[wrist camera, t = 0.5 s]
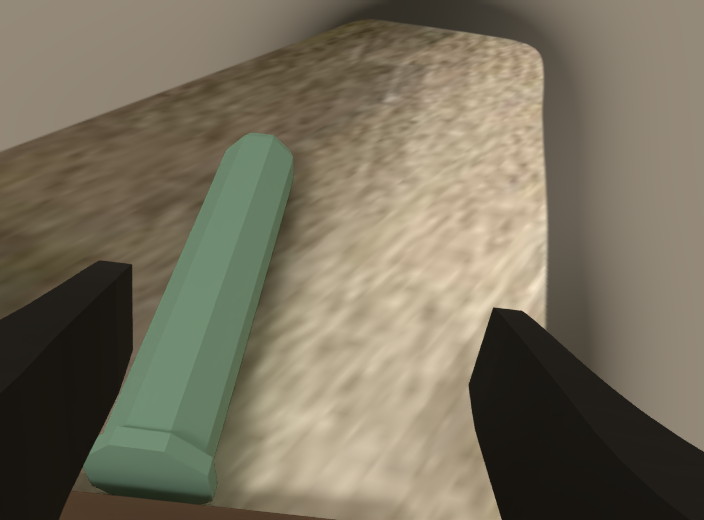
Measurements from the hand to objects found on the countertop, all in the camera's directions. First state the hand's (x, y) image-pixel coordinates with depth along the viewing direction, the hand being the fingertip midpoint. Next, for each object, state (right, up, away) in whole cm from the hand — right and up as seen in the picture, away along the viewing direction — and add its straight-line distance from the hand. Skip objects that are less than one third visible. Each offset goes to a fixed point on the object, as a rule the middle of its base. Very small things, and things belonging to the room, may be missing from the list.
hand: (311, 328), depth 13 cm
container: (-7, -1, +26) cm, 26 cm away
